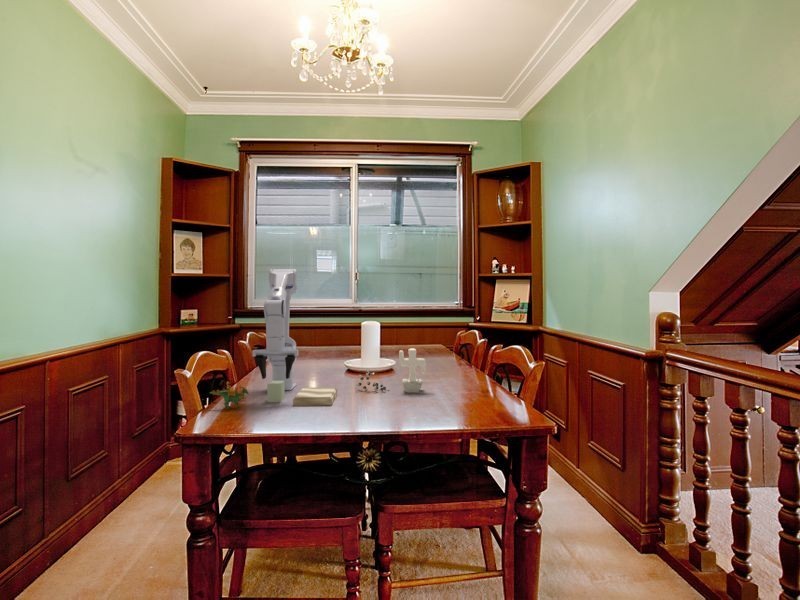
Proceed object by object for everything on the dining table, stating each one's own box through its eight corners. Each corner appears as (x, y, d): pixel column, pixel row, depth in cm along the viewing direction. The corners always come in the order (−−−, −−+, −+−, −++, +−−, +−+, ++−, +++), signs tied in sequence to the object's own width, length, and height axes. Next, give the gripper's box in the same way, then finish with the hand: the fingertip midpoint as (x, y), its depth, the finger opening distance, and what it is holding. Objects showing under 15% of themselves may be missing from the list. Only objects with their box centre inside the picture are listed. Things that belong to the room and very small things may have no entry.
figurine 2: (426, 393, 156) (425, 350, 155) (398, 393, 156) (398, 350, 156) (425, 388, 163) (425, 347, 162) (399, 388, 163) (399, 347, 163)
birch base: (302, 394, 155) (301, 387, 155) (337, 394, 155) (337, 387, 155) (293, 405, 141) (292, 397, 141) (331, 405, 141) (331, 397, 141)
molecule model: (384, 400, 156) (393, 378, 158) (353, 387, 157) (362, 366, 159) (385, 401, 162) (393, 380, 164) (354, 388, 163) (363, 368, 165)
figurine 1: (247, 409, 137) (246, 382, 137) (207, 409, 137) (207, 382, 137) (250, 406, 140) (250, 380, 140) (211, 406, 140) (211, 380, 140)
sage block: (271, 398, 150) (271, 380, 150) (284, 398, 150) (284, 380, 150) (267, 402, 146) (267, 383, 145) (281, 402, 146) (281, 383, 145)
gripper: (249, 338, 143) (249, 380, 143) (295, 337, 143) (295, 380, 144) (255, 335, 150) (256, 376, 150) (299, 335, 150) (300, 376, 151)
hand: (275, 378), depth 147 cm, fingers open, 7 cm apart
